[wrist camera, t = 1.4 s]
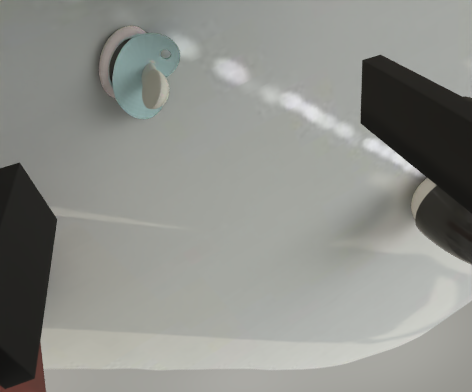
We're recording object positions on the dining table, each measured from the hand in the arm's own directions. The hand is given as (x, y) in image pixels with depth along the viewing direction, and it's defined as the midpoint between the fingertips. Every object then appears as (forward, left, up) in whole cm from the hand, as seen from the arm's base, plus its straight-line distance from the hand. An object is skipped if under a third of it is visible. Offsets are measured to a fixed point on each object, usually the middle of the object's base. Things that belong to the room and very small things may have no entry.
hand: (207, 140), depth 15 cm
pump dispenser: (+41, -13, -22) cm, 49 cm away
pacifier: (-1, -4, -22) cm, 22 cm away
